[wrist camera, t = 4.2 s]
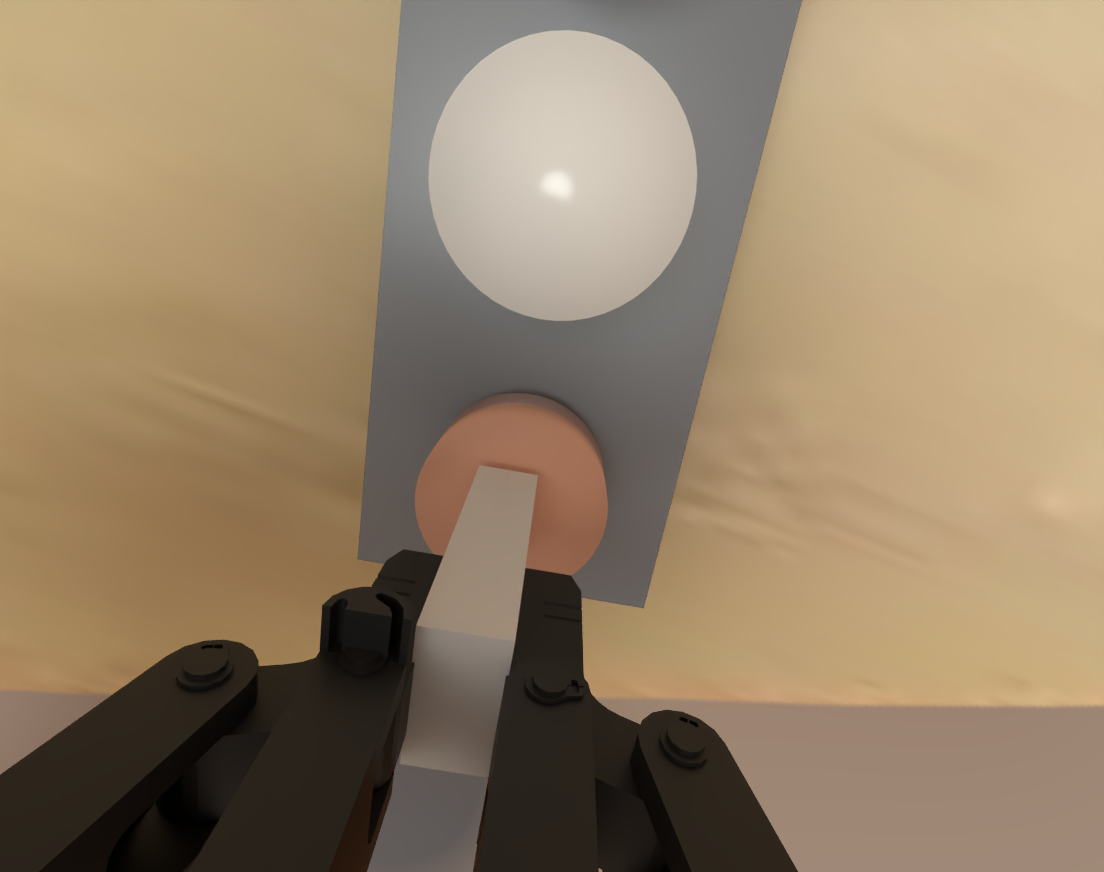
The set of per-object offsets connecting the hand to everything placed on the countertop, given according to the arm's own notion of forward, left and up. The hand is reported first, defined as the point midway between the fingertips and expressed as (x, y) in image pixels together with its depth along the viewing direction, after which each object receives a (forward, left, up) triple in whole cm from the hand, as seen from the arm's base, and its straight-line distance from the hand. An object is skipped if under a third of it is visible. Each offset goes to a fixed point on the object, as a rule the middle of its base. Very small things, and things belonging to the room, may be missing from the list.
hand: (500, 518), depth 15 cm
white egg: (0, +8, -6) cm, 10 cm away
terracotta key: (0, 0, -8) cm, 8 cm away
